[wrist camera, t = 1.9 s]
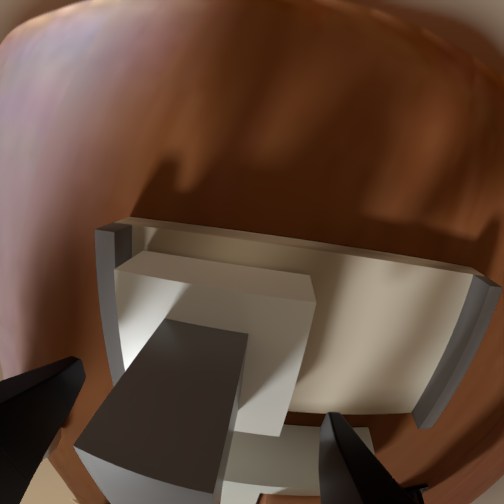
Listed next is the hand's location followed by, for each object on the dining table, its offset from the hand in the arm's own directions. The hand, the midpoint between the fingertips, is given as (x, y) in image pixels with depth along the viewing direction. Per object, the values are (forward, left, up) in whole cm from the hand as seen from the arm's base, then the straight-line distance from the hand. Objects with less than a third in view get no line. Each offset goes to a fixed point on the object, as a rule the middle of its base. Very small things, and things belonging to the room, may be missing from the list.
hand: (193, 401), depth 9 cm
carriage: (0, 0, -4) cm, 4 cm away
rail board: (-4, 0, -6) cm, 7 cm away
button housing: (-6, +11, -6) cm, 14 cm away
